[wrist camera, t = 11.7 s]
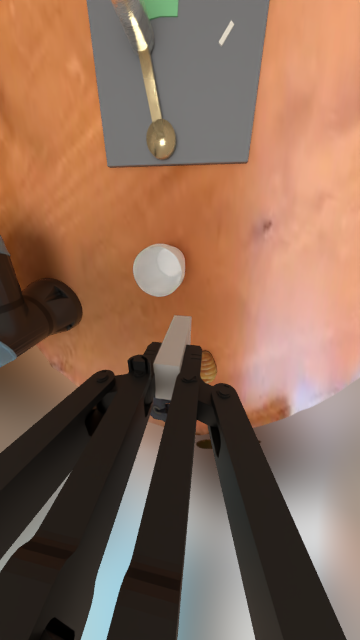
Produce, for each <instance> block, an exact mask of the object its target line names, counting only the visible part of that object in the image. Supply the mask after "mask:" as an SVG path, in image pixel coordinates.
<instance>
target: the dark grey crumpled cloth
mask: <svg viewBox="0 0 360 640" xmlns="http://www.w3.org/2000/svg"><path fill="white" fill-rule="evenodd" d="M170 402H171V400H166V399H159V398H156V397H155V394H154V397H153V407H152V410H151V413H150V415H151V416H152V417H153V418H154V419H158V420H162V421H164V422H166V418H167V414H168V410H169V406H170V404H166V403H170Z"/></svg>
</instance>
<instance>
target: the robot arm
mask: <svg viewBox="0 0 360 640" xmlns="http://www.w3.org/2000/svg"><path fill="white" fill-rule="evenodd" d="M81 317H82V308H81V304H80V302H79V300H78V298H77V296H76V295H75V293H74V292H73V291H72V290H71V289H70V288H69V287H68V286H67V285H65V284H64V283H62V282H60V281H58V280H55V279H50V278H45V279H41V280H38V281H35V282H33V283H31V284H30V285H29V286H28V287H26V288H25V289H24V290H23V291H21V288H20V285H19V282H18V279H17V277H16V274H15V271H14V268H13V265H12V262H11V259H10V253H8V251H7V249H6V246H5V244H4V241H3V239H2V237H1V235H0V367H2V366H3V365H5V364H7V363H9V362H10V361H13V360H15V359H16V358H17V357H18V356H19V355H21V354H23V353H24V352H26V351H27V350H28V349H30V348H31V347H33V346H34V345H36V344H37V343H39V342H40V341H42V340H43V339H45V338H46V337H48V336H49V335H53V334H57V333H61V332H64V331H68V330H70V329H72V328H73V327H74V326H76V325H77V324H78V323H79V322H80V320H81ZM190 340H191V317H190V316H176V315H174V317H173V320H172V322H171V324H170V326H169V329H168V331H167V333H166V336H165V338H164V340H163V342H162V343H159V342H152V343H151V344H150V345H148V347H147V349H146V351H145V353H144V354H143V355H135V356H133V357H131V358H129V359H128V367H129V373H128V374H124V375H117V376H115V375H114V373H113V372H112V371H110V370H101V371H99V372H96V373H95V374H93V375H92V376H91V377H90V378H89V379H87V380H86V381H85V382H84V383H83V384H82V385H80V386H79V387H78V388H77V389H76V390H75V391H74V392H72V393H71V394H70V395H69V396H67V397H66V398H65V399H64V400H63V401H62V402H60V403H59V404H58V405H57V406H56V407H54V408H53V409H52V410H51V411H50V412H48V413H47V414H46V415H45V416H44V417H43V418H41V419H40V420H39V421H38V422H37V423H35V424H34V425H33V426H32V427H31V428H30V429H28V430H27V431H26V432H25V433H24V434H23V435H21V436H20V437H19V438H18V439H17V440H15V441H14V442H13V443H12V444H11V445H10V446H8V447H7V448H6V449H5V450H4V451H2V452H1V453H0V559H1V558H2V557H3V555H4V554H5V553H6V552H7V551H8V549H9V548H10V547H11V546H12V544H13V543H14V542H15V541H16V539H17V538H18V537H19V536H20V534H21V533H22V532H23V531H24V529H25V528H26V527H27V526H28V525H29V523H30V522H31V521H32V520H33V518H34V517H35V515H37V513H38V512H39V511H40V510H41V508H42V507H43V506H44V505H45V503H46V502H47V501H48V499H49V498H50V497H51V496H52V494H53V493H54V492H55V491H56V490H57V488H58V487H59V486H60V485H61V483H62V482H63V481H64V480H65V478H66V477H67V476H68V475H69V473H70V472H71V471H72V472H71V473H70V475H69V477H68V479H67V480H66V482H65V484H64V486H63V487H62V489H61V491H60V493H59V494H58V496H57V498H56V499H55V501H54V503H53V505H52V507H51V508H50V510H49V512H48V513H47V515H46V517H45V519H44V520H43V522H42V524H41V526H40V527H39V529H38V531H37V532H36V534H35V535H34V536H33V538H32V539H31V540H30V541H28V542H27V543H25V544H24V545H22V546H21V547H19V548H18V549H17V551H16V552H15V553H14V554H13V555H12V556H11V557H10V559H9V560H8V562H7V563H6V565H5V566H4V568H3V569H2V570H1V572H0V640H81V636H82V634H83V630H84V627H85V624H86V621H87V618H88V614H89V611H90V608H91V604H92V599H93V595H94V587H95V581H96V576H97V573H98V569H99V567H100V564H101V561H102V558H103V555H104V552H105V548H106V546H107V543H108V540H109V536H110V534H111V531H112V528H113V525H114V522H115V519H116V516H117V512H118V509H119V506H120V503H121V500H122V497H123V494H124V491H125V488H126V485H127V482H128V479H129V476H130V473H131V470H132V467H133V464H134V461H135V458H136V455H137V452H138V449H139V446H140V443H141V440H142V437H143V434H144V431H145V428H146V425H147V422H148V419H149V416H150V413H151V410H152V407H153V397H154V394H155V397H156V398H159V399H166V400H171V402H170V406H169V410H168V414H167V418H166V422H165V426H164V430H163V434H162V438H161V442H160V446H159V451H158V455H157V459H156V463H155V467H154V471H153V475H152V479H151V483H150V487H149V491H148V495H147V499H146V503H145V507H144V511H143V515H142V519H141V523H140V528H139V532H138V536H137V540H136V544H135V548H134V552H133V556H132V559H131V563H130V565H129V568H128V570H127V572H126V574H125V576H124V579H123V582H122V585H121V588H120V591H119V594H118V598H117V602H116V605H115V609H114V613H113V617H112V621H111V624H110V628H109V632H108V636H107V640H177V637H178V625H179V613H180V601H181V590H182V579H183V578H182V577H183V567H184V555H185V545H186V534H187V522H188V510H189V499H190V488H191V477H192V466H193V454H194V443H195V432H196V421H197V420H199V421H201V422H203V423H205V424H207V425H208V430H209V434H210V439H211V443H212V448H213V452H214V457H215V461H216V465H217V470H218V474H219V479H220V483H221V488H222V492H223V497H224V501H225V505H226V509H227V514H228V519H229V523H230V528H231V532H232V537H233V541H234V546H235V550H236V555H237V559H238V564H239V568H240V572H241V577H242V581H243V586H244V590H245V595H246V599H247V603H248V608H249V613H250V617H251V621H252V626H253V630H254V635H255V639H256V640H346V637H345V635H344V633H343V631H342V628H341V626H340V624H339V622H338V620H337V617H336V615H335V613H334V610H333V608H332V606H331V604H330V602H329V599H328V597H327V595H326V592H325V590H324V588H323V586H322V583H321V581H320V579H319V577H318V574H317V572H316V570H315V568H314V566H313V563H312V561H311V559H310V556H309V554H308V552H307V550H306V547H305V545H304V543H303V541H302V538H301V536H300V534H299V532H298V529H297V527H296V525H295V523H294V520H293V518H292V516H291V514H290V511H289V509H288V507H287V505H286V502H285V500H284V498H283V496H282V493H281V491H280V489H279V487H278V484H277V482H276V480H275V478H274V475H273V473H272V471H271V469H270V466H269V464H268V462H267V460H266V457H265V455H264V453H263V451H262V448H261V446H260V444H259V442H258V439H257V437H256V435H255V433H254V430H253V428H252V426H251V424H250V421H249V419H248V417H247V415H246V412H245V410H244V408H243V406H242V403H241V401H240V399H239V397H238V394H237V392H236V391H235V389H234V388H233V387H231V386H230V385H228V384H224V383H219V384H216V385H214V386H211V385H209V384H207V383H205V382H204V381H203V380H202V379H201V376H200V373H201V361H202V349H201V347H200V346H195V345H190Z"/></svg>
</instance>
